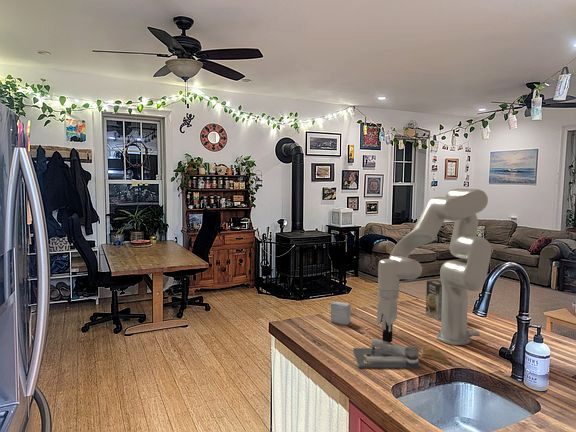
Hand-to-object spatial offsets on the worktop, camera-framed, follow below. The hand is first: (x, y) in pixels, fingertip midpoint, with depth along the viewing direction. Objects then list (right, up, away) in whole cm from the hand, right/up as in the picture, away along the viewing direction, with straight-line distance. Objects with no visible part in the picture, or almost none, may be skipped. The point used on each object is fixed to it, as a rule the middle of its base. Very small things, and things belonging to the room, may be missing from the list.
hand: (387, 341), depth 151 cm
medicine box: (-13, -1, +31) cm, 34 cm away
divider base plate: (-2, -4, -7) cm, 8 cm away
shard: (+17, -5, -5) cm, 18 cm away
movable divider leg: (0, -3, -7) cm, 8 cm away
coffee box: (+33, -1, +39) cm, 51 cm away
